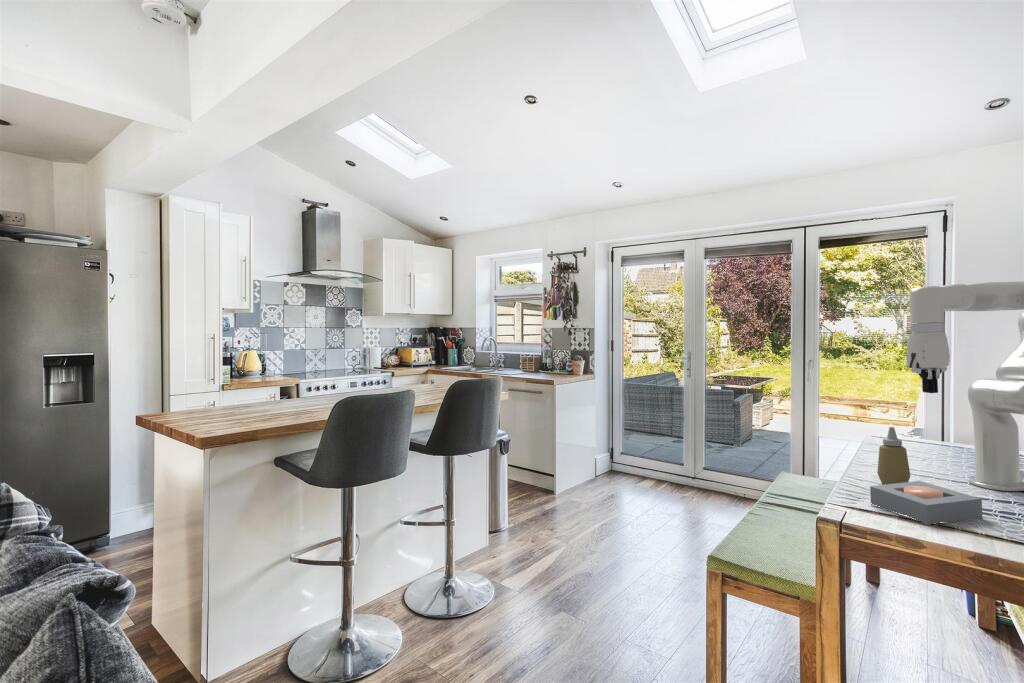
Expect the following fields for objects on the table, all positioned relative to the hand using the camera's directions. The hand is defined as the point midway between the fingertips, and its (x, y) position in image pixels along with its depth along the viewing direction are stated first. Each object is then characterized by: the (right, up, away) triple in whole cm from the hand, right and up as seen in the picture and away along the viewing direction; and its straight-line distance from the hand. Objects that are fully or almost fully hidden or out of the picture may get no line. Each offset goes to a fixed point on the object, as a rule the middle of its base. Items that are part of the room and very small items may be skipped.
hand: (930, 392), depth 144 cm
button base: (-13, -30, -13) cm, 35 cm away
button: (-13, -29, -13) cm, 35 cm away
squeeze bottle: (-5, -30, +7) cm, 31 cm away
